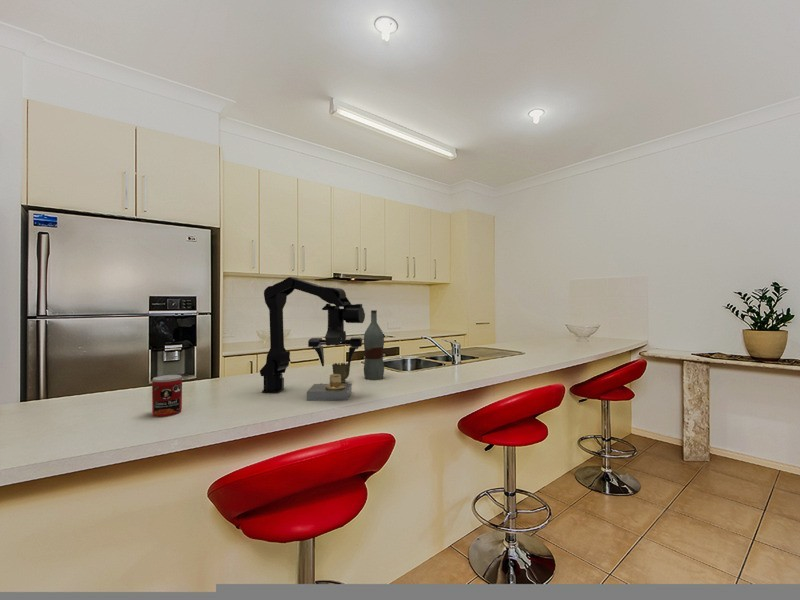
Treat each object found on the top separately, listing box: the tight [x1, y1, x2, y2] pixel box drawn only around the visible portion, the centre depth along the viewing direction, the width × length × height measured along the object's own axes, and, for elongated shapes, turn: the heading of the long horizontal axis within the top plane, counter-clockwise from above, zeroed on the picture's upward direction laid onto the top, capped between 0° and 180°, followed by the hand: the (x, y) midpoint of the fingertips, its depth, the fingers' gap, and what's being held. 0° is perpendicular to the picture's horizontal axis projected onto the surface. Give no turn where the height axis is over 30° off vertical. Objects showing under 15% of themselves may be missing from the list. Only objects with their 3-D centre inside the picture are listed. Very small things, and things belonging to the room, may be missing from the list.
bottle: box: [363, 309, 385, 381], centre depth 165 cm, size 9×9×30 cm
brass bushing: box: [325, 373, 346, 390], centre depth 134 cm, size 7×7×7 cm
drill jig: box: [306, 383, 353, 401], centre depth 134 cm, size 14×12×3 cm
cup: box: [331, 362, 351, 384], centre depth 155 cm, size 8×7×8 cm
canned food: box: [151, 374, 183, 418], centre depth 114 cm, size 8×8×11 cm
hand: (335, 366), depth 134 cm, fingers open, 9 cm apart
